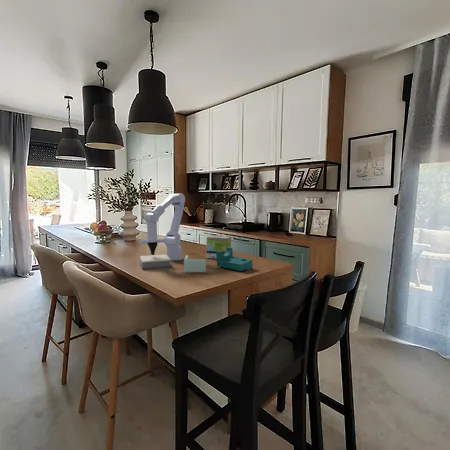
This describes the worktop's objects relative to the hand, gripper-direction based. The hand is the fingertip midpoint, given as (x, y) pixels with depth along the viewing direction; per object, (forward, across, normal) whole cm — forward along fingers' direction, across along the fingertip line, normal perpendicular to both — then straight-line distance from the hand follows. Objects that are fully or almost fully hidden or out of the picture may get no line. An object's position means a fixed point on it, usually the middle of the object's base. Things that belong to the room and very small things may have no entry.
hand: (152, 254), depth 172 cm
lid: (+2, -1, +3) cm, 3 cm away
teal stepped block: (+7, -41, +30) cm, 51 cm away
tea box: (+7, -45, 0) cm, 46 cm away
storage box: (+6, -1, +3) cm, 7 cm away
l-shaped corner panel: (+7, -19, +22) cm, 30 cm away
